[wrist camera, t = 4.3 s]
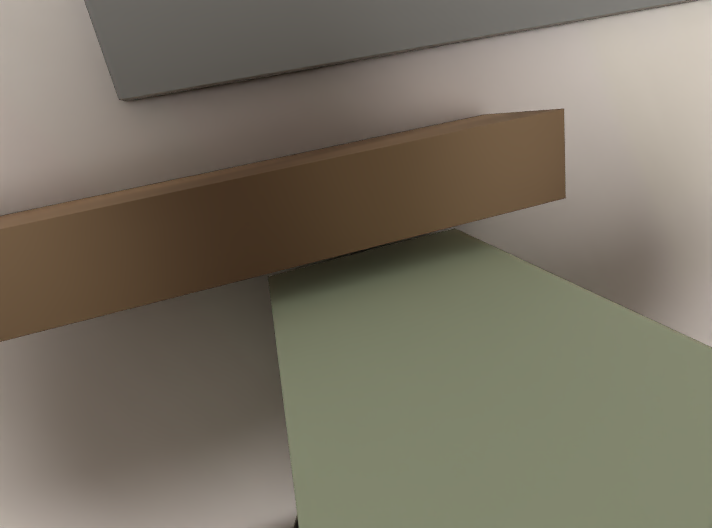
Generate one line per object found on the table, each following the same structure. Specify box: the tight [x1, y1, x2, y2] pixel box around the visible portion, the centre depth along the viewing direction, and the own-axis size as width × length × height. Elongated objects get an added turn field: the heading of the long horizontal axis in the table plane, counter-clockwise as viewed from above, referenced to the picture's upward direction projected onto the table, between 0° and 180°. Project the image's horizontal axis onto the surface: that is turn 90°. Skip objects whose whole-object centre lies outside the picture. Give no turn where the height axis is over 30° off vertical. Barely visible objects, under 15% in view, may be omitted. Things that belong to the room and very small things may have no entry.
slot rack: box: [0, 109, 566, 342], centre depth 9 cm, size 10×11×2 cm
